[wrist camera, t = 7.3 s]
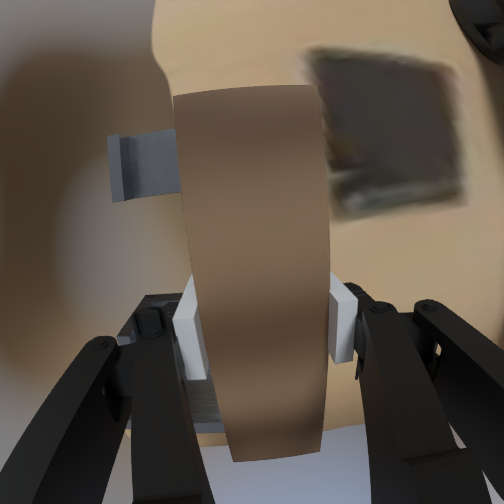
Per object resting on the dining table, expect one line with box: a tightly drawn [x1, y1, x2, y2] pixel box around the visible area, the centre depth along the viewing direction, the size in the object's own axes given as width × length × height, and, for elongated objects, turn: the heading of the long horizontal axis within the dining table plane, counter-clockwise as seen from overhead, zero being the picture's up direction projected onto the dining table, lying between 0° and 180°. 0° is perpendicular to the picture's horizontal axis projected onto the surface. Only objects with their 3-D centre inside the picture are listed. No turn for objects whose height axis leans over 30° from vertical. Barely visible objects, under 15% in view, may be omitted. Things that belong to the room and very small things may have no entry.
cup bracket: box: [117, 293, 225, 433], centre depth 24 cm, size 6×9×14 cm, turn 95°
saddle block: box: [107, 129, 181, 202], centre depth 25 cm, size 6×9×4 cm, turn 94°
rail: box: [173, 85, 330, 462], centre depth 14 cm, size 18×5×6 cm, turn 5°
